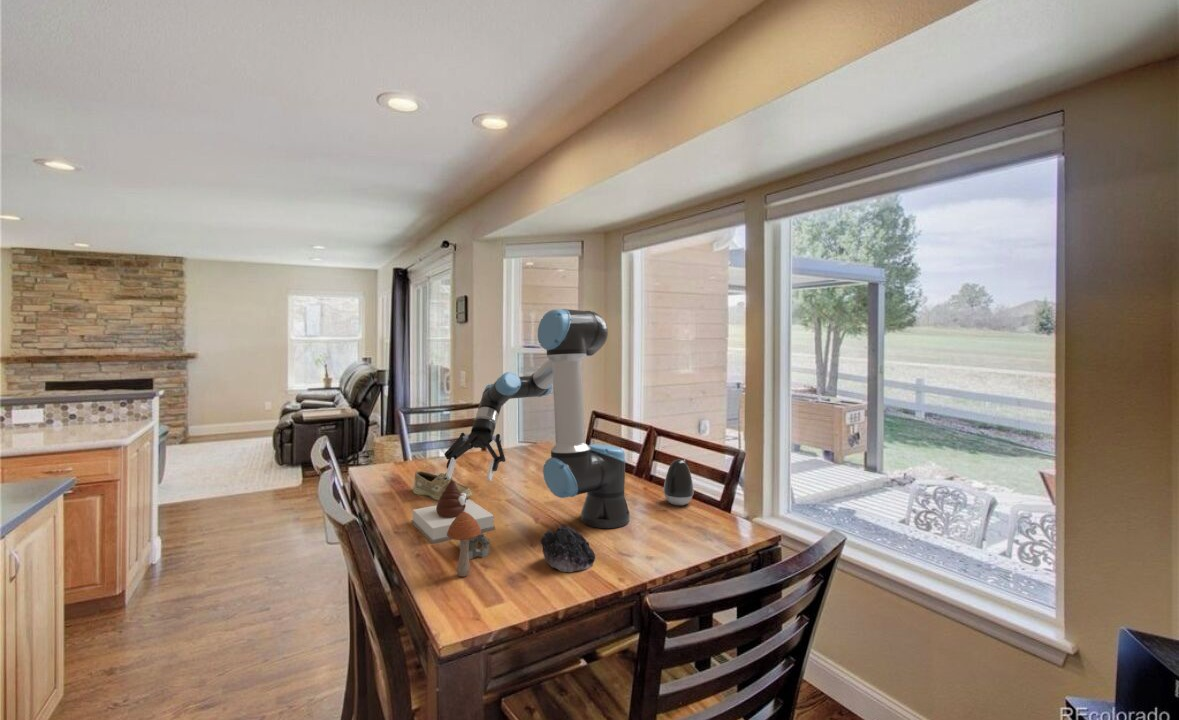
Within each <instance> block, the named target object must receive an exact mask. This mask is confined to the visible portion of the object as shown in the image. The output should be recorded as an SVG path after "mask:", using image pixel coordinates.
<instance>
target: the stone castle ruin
mask: <svg viewBox="0 0 1179 720" xmlns="http://www.w3.org/2000/svg"><path fill="white" fill-rule="evenodd" d="M479 543H480V544H481V545H480V546H481V547H480V548H478V545H479ZM490 545H491V543H490V539H488V536H485V533H484V532H481V533H480V535H479V536H477V537H475V538H472V539H469V550H468V553H469V560H473V559H474V558H476V557H480V558H487V556H489V555H490V552H491V551H490V549H491V548H490ZM458 547H459V549H460V540H458Z"/></svg>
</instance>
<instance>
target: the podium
mask: <svg viewBox="0 0 1179 720" xmlns="http://www.w3.org/2000/svg"><path fill="white" fill-rule="evenodd" d="M436 507H437V504H436V505H431V506H426V507H425V506H424V507H419V508H415V509H412V519H411V524H412V525H413V526H414V527H415V528H417V530H418V531H419V532H420V533H421V534H422V535H423V536H424V537H425V538H426V539H427V540H428V541H429V542H430V543H431V544H436V543H440V542H441V543H442V542H444V541H449V540H451V539H450V538H449V537H448V536H447V532H448V529H449V527H450V525H451V523H452V522H453V521H454V519H455V518H456V517H457V516H456V517H449V518H446V517H441V516H439V515H438V514H437V511H436ZM464 512H466V513H468V514H470V515H471V516H472V517H473V518H474V519H475V520H476V521H477V523H478V525H479V527H480V529H481V533H484V532H488V531H489V532H490V531H493V530H496V526H495V524H494V523H495V517H494V515H493V514H492V513H491V512H489V511H488V510H487V509H484V508H483V507H482V506H480V505H479V504H477V503H476V502H475V501H473V500H472V499H468V498H467V500H466V503H465V509H464Z"/></svg>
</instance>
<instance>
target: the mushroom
mask: <svg viewBox="0 0 1179 720" xmlns="http://www.w3.org/2000/svg"><path fill="white" fill-rule="evenodd" d="M481 533H482V532H481V529H480V527H479V525H478V523H477V521H476V520H475V519H474V518H473V517H472V516H471V515H470V514H468V513H466V512H462V513H461V514H459V515H458V516H457V517H456V518H455V519H454V521H453V522H452V523H451V525H450V527H449V529H448V532H447V536H448V537H449V538H450V540H455V541H459V540H460V548H459V557H458V562H457V567H456V572H457V576H458V577H463V578H464V577H467V576H468V575H469V572H470V569H471V566H470V564H471V563H470V559H469V553H468V550H469V551H470V549H469V539H472V538H475V537H477V536H479V535H480V534H481Z"/></svg>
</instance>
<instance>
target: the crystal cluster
mask: <svg viewBox="0 0 1179 720" xmlns="http://www.w3.org/2000/svg"><path fill="white" fill-rule="evenodd" d="M540 544H541V547H542V554H543V556H544V558H545V562H546V563H547V564H548V565H549V566H550V567H551V569H555V570H559V572H564V573H565V572H566V573H572V572H576V571H577V572H579V571H583V570H588V569H590V568H591V567H592V566H593V564H594V563H595V561H596V554H595V552H594V551H593V549H592V548H591V547H590V543H589V541H587V539H586V537H584V535H582V534H580V533H579V532H578V531H576V530H575V529H573V528H572V527H570V526H568V525H564V526H563V525H560V526H558V528H557V529H556V531H554V530H553V531H552V530H550V529H549V530H547V531H546V532H545V533H544V535H543V536H542V537H541V539H540Z"/></svg>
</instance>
